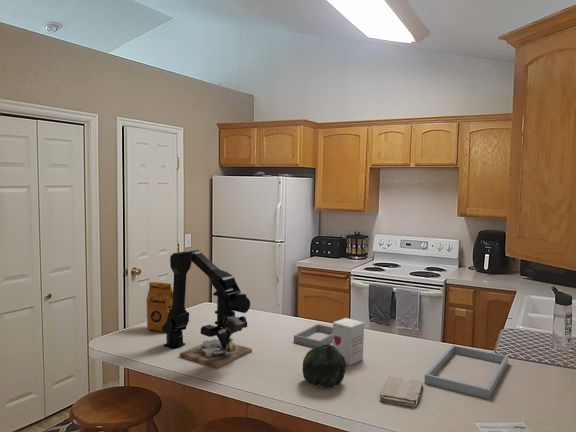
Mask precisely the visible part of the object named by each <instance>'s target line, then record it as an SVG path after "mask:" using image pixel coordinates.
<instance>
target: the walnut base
mask: <svg viewBox="0 0 576 432" xmlns="http://www.w3.org/2000/svg"><path fill="white" fill-rule="evenodd" d="M216 340H218V338H213V339H211V340H210V341H216ZM202 344H203V343H201V344H199V345H196V346H194V347H191V348H189V349H186V350H184V351H181V352H179V357H180V358H182V359H186V360H190V361H193V362H195V363H198V364H203V365H205V364H206V366H209V367H213V368H215V369H221V368H222V367H225V366H226V365H228V364H230V363H233V362H234V361H235V362H236V361H237V360H239V359H241V358H243V357H245V356H247V355H249V354H251V353H253V348H251V347H247V346H243V345H241V344H236V343H235V345H236V350H234V351H233V352H231V355H229V356H224V355H222V356H213V357H212V358H210V357H206V355H204V354H202V353H197V346H201V345H202Z"/></svg>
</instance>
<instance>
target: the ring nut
mask: <svg viewBox="0 0 576 432" xmlns="http://www.w3.org/2000/svg"><path fill="white" fill-rule="evenodd" d="M201 344H202V345H201ZM201 344H200V345H201V346H198V345H196V346H197V353H202V354H204V355H206V357H210V358H212V357H213V356H222V355H224V356H229V355H231V352H233V351H234V350H236V345H237V344H236V343H235V342H233V338H232V337H230V338H229V341H228V344H227V347H226V349H223V348H222V345H221V343H220V341H219V339H217V340H216V341H211V340H204V341H202V343H201ZM235 344H236V345H235Z"/></svg>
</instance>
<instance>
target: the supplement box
mask: <svg viewBox="0 0 576 432" xmlns="http://www.w3.org/2000/svg"><path fill="white" fill-rule="evenodd" d="M332 327H333V341H332V346H334V347H335V348H336V349H338V351H339V352H340V353H341V354H342V356H343V357H344V359H345V361H346V366H352V365H354V364H356V363H359V362H361V361H362V360H363V359H364V339H365V338H364V337H365V335H364V334H365V322H364V321H359V320H357V319H356V320H355V319H352V318H349V317H344V318H341V319H339V320H336V321H333V323H332Z"/></svg>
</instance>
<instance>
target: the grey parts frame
mask: <svg viewBox="0 0 576 432" xmlns="http://www.w3.org/2000/svg"><path fill="white" fill-rule="evenodd" d="M317 332H319V333H325V334H328V335H327V336H325V337H323V338H322V339H315V338H310V337H309V336H311V335H314V334H315V333H317ZM293 343H295V344H300V345H303V346H308V347H312V348H316V347H319V346H322V345H328V344H331V343H333V326H329V325H324V324H319V323H316V324H314V325H312V326H310V327H308V328H306V329H304V330H302V331H301V332H299V333H296V334H295V335H293Z"/></svg>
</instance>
